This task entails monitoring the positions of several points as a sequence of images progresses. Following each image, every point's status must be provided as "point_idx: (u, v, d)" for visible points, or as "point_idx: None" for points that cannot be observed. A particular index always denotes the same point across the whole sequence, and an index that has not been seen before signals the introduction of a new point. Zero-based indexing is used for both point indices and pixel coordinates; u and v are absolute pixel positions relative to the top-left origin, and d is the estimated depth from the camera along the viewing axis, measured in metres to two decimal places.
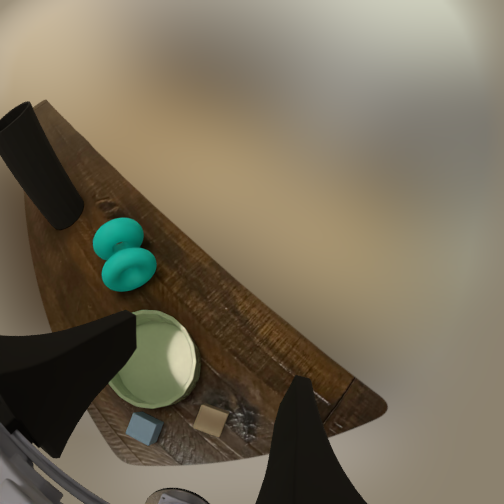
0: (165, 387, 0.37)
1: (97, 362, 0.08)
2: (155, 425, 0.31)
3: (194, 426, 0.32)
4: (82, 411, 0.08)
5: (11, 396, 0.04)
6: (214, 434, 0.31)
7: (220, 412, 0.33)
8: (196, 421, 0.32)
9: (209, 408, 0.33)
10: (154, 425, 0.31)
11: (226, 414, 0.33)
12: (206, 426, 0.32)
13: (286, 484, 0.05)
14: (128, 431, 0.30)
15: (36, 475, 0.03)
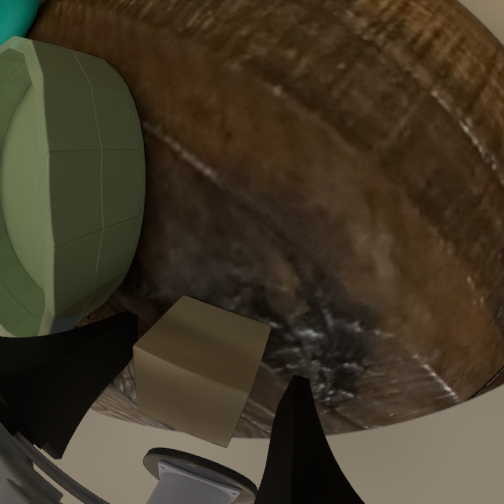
0: None
1: (98, 363, 0.08)
2: None
3: (141, 409, 0.09)
4: (83, 412, 0.08)
5: (12, 398, 0.04)
6: (209, 439, 0.09)
7: (213, 386, 0.07)
8: (139, 398, 0.09)
9: (164, 365, 0.08)
10: None
11: (241, 395, 0.07)
12: (176, 417, 0.09)
13: (284, 484, 0.05)
14: None
15: (36, 475, 0.03)
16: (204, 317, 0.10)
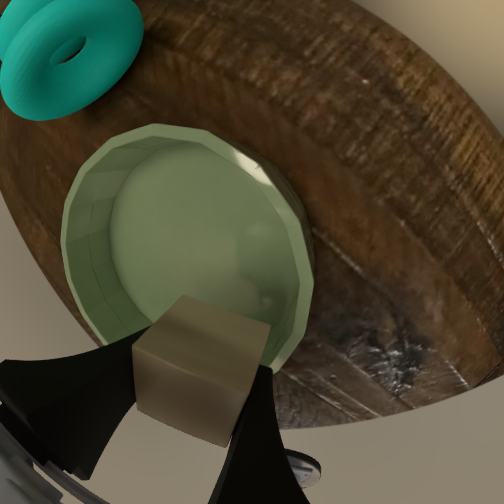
0: None
1: (128, 381, 0.08)
2: None
3: (140, 409, 0.09)
4: (112, 431, 0.07)
5: (45, 430, 0.04)
6: (208, 439, 0.09)
7: (212, 385, 0.07)
8: (138, 397, 0.09)
9: (163, 365, 0.08)
10: None
11: (240, 394, 0.07)
12: (175, 416, 0.08)
13: (226, 469, 0.05)
14: None
15: (36, 475, 0.03)
16: (203, 316, 0.10)
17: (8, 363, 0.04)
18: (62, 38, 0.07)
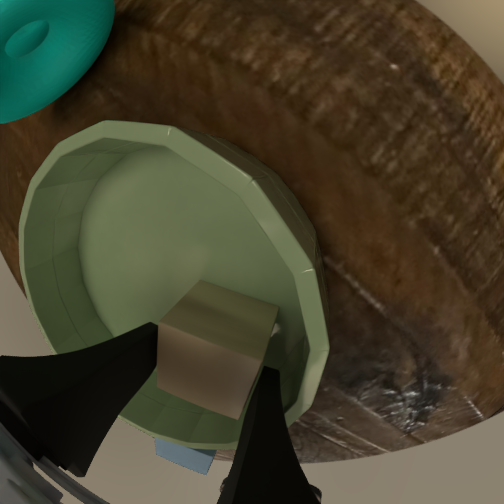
0: None
1: (124, 378, 0.08)
2: (211, 457, 0.13)
3: (159, 385, 0.10)
4: (107, 428, 0.07)
5: (39, 425, 0.04)
6: (223, 412, 0.10)
7: (231, 354, 0.09)
8: (159, 373, 0.10)
9: (187, 338, 0.09)
10: (208, 457, 0.13)
11: (255, 362, 0.09)
12: (193, 390, 0.10)
13: (237, 472, 0.05)
14: (159, 453, 0.14)
15: (36, 475, 0.03)
16: (219, 298, 0.12)
17: (4, 359, 0.04)
18: (10, 24, 0.04)
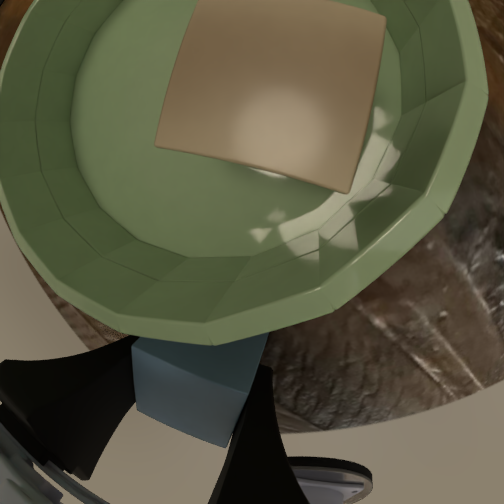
0: None
1: (129, 381, 0.08)
2: (243, 396, 0.07)
3: (162, 134, 0.05)
4: (112, 431, 0.07)
5: (45, 430, 0.04)
6: (311, 170, 0.05)
7: (332, 5, 0.03)
8: (171, 94, 0.05)
9: None
10: (238, 397, 0.07)
11: (376, 18, 0.03)
12: (244, 109, 0.04)
13: (226, 469, 0.05)
14: (142, 407, 0.09)
15: (36, 475, 0.03)
16: None
17: (8, 363, 0.04)
18: None
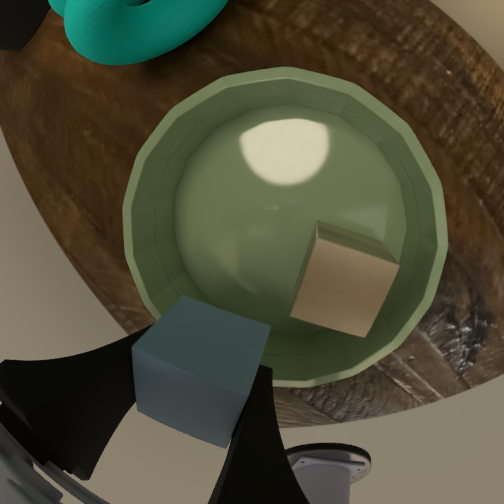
0: None
1: (129, 381, 0.08)
2: (243, 397, 0.07)
3: (294, 313, 0.12)
4: (112, 431, 0.07)
5: (45, 430, 0.04)
6: (353, 331, 0.12)
7: (377, 261, 0.11)
8: (300, 297, 0.12)
9: (342, 250, 0.11)
10: (238, 398, 0.07)
11: (394, 267, 0.11)
12: (332, 309, 0.12)
13: (226, 469, 0.05)
14: (143, 407, 0.09)
15: (36, 475, 0.03)
16: (342, 231, 0.14)
17: (8, 363, 0.04)
18: None
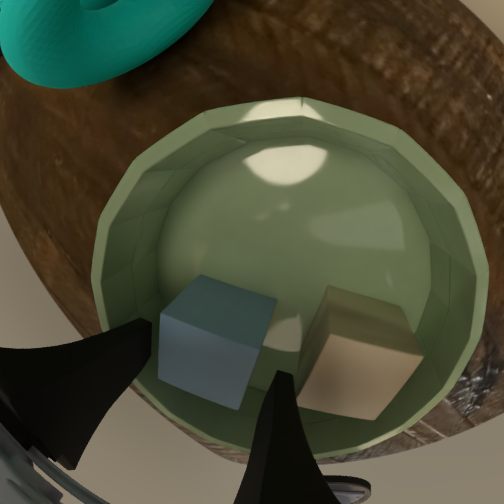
0: None
1: (113, 372, 0.08)
2: (256, 352, 0.09)
3: (298, 402, 0.10)
4: (97, 422, 0.07)
5: (28, 414, 0.04)
6: (362, 415, 0.09)
7: (399, 355, 0.08)
8: (306, 390, 0.09)
9: (360, 347, 0.08)
10: (252, 353, 0.09)
11: (417, 359, 0.08)
12: (341, 399, 0.09)
13: (258, 478, 0.05)
14: (164, 374, 0.11)
15: (36, 475, 0.03)
16: (357, 303, 0.11)
17: None
18: None
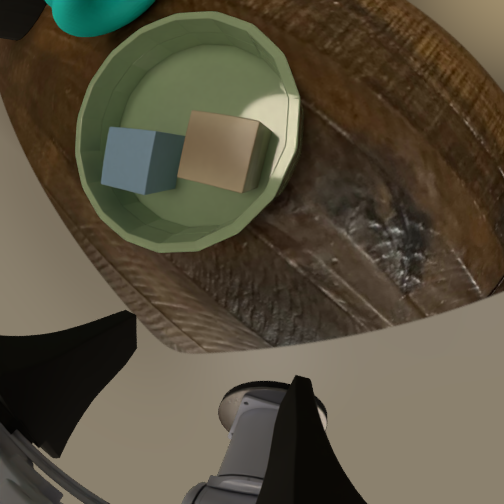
0: None
1: (97, 362, 0.08)
2: (154, 134, 0.14)
3: (180, 173, 0.14)
4: (82, 411, 0.08)
5: (11, 396, 0.04)
6: (229, 186, 0.14)
7: (239, 120, 0.13)
8: (183, 158, 0.14)
9: (210, 115, 0.13)
10: (151, 135, 0.14)
11: (255, 123, 0.13)
12: (207, 165, 0.14)
13: (286, 484, 0.05)
14: (104, 176, 0.16)
15: (36, 475, 0.03)
16: None
17: None
18: None
